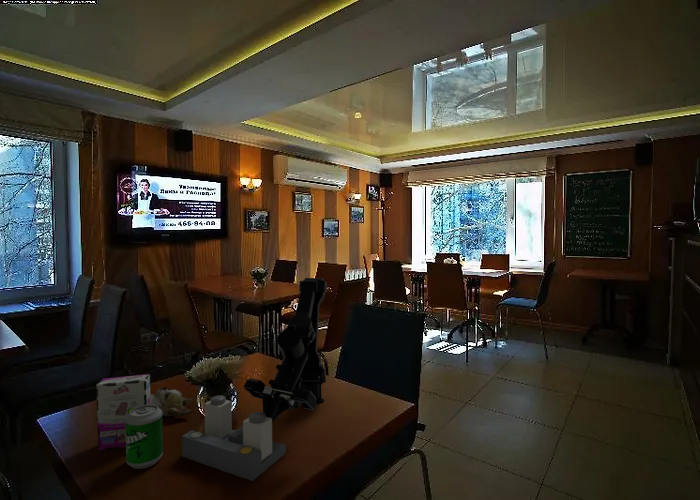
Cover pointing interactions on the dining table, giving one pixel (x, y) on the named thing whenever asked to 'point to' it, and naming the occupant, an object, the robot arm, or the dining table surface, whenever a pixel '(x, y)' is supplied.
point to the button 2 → (258, 433)
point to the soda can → (144, 436)
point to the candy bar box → (118, 407)
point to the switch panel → (229, 453)
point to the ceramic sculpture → (171, 402)
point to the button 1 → (218, 417)
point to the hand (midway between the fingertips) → (264, 428)
